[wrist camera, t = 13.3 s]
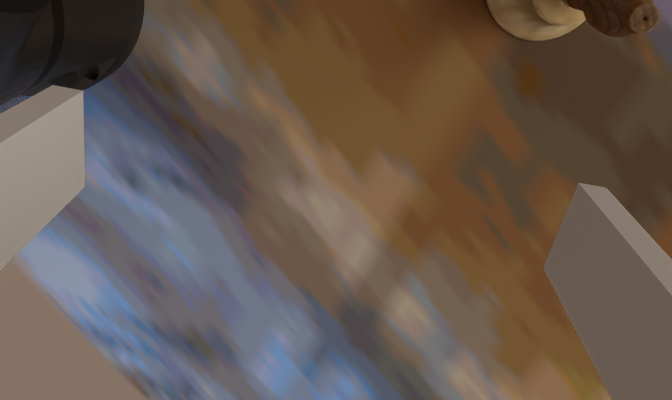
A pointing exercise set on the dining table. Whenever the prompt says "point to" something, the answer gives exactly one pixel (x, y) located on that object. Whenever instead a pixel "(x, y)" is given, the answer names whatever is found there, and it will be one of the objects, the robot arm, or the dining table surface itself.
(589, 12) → the hand bell
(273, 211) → the dining table surface
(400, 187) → the dining table surface
